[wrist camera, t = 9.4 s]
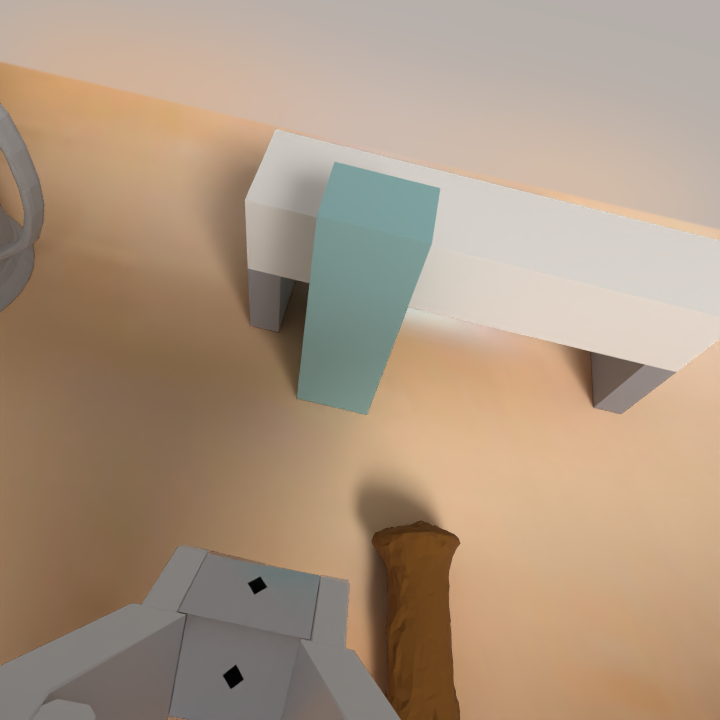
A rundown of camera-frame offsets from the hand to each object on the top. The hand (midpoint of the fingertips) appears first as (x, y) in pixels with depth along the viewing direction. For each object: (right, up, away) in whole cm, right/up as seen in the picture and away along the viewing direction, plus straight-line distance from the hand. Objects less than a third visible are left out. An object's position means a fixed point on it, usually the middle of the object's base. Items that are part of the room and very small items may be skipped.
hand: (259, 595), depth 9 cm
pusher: (+1, +7, +20) cm, 21 cm away
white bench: (+6, +5, +20) cm, 21 cm away
